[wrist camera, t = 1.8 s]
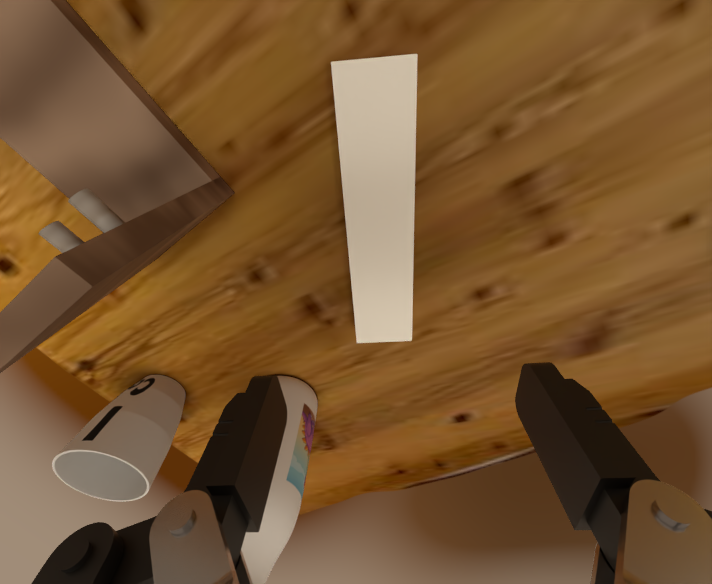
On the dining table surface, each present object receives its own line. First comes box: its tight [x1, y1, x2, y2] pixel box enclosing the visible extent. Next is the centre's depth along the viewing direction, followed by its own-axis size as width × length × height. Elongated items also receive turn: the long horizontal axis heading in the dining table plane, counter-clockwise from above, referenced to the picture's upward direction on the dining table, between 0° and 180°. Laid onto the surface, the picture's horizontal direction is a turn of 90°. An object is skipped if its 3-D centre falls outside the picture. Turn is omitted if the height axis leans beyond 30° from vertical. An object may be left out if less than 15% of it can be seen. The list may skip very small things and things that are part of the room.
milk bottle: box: [241, 376, 318, 584], centre depth 28 cm, size 8×8×20 cm
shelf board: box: [331, 54, 417, 343], centre depth 25 cm, size 21×5×3 cm, turn 4°
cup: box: [52, 375, 186, 501], centre depth 33 cm, size 8×8×10 cm
